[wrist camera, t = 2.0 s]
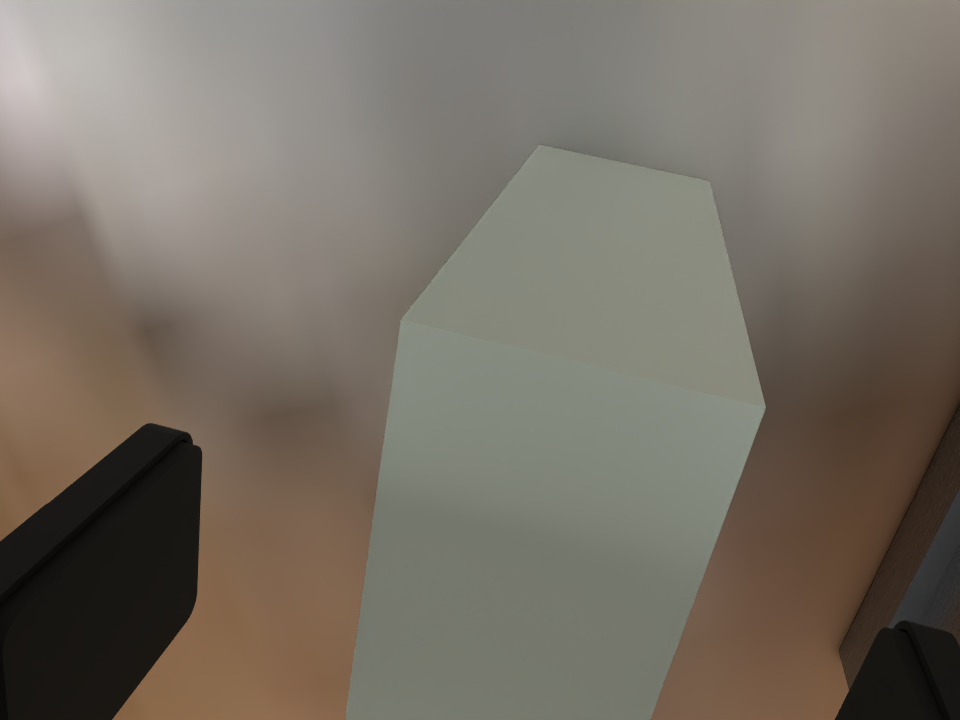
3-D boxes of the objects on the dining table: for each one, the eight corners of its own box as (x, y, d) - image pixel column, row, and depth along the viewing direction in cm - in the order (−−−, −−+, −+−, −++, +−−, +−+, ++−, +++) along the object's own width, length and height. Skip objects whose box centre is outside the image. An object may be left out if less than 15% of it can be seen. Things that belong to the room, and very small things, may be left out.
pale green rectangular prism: (539, 144, 17) (399, 319, 8) (709, 181, 16) (765, 408, 8) (474, 467, 20) (328, 843, 11) (614, 504, 20) (574, 921, 11)
